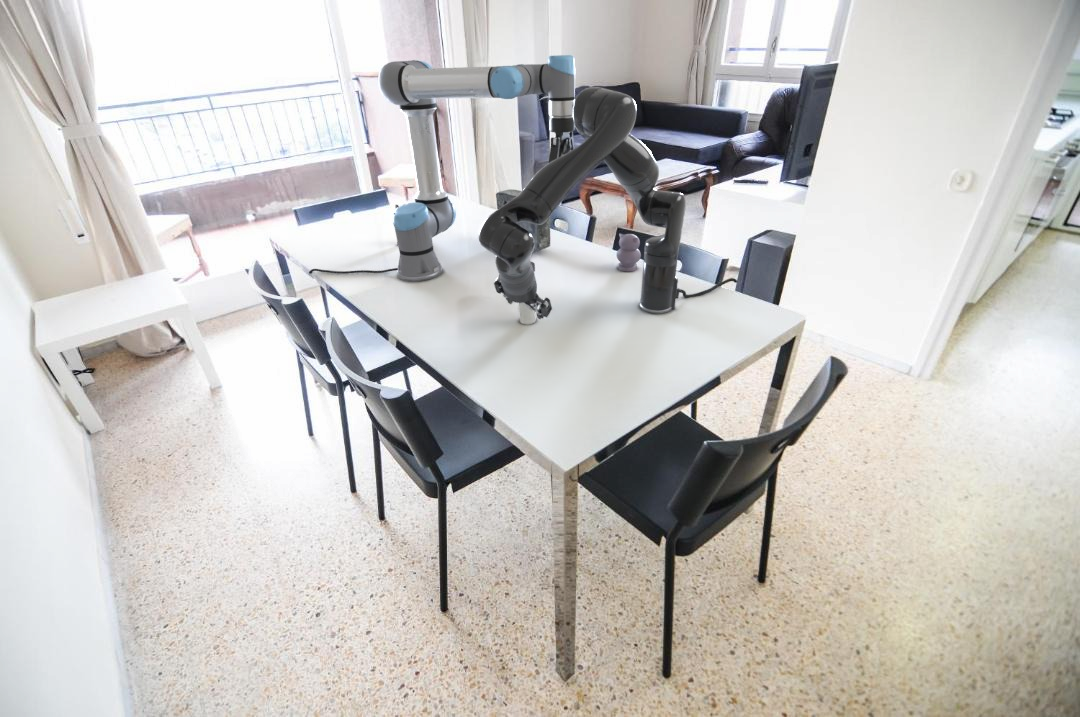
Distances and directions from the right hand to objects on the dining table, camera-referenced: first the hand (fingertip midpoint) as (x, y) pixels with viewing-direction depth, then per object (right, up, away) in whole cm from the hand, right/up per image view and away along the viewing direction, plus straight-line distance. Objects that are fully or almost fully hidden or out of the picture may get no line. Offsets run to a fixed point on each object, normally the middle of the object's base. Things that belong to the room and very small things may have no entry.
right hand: (526, 308), depth 123 cm
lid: (-1, +12, +10) cm, 16 cm away
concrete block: (-2, +31, +73) cm, 80 cm away
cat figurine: (+34, +19, +50) cm, 64 cm away
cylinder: (0, -2, +19) cm, 19 cm away
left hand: (+11, +40, +33) cm, 53 cm away
